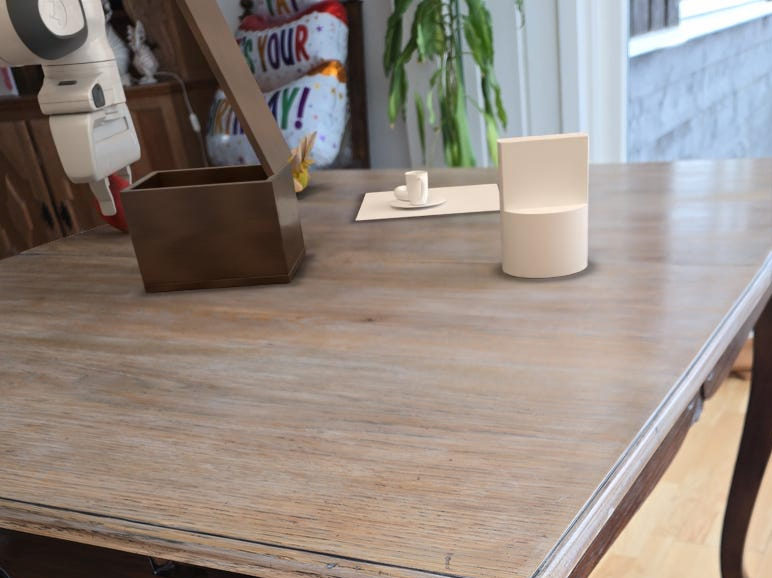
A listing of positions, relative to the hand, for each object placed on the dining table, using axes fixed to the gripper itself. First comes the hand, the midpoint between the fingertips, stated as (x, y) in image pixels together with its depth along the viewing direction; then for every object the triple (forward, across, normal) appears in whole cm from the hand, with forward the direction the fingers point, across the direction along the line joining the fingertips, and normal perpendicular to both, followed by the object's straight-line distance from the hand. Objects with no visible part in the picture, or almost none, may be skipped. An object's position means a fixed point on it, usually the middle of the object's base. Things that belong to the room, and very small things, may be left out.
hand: (119, 209), depth 121 cm
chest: (+3, +27, +20) cm, 34 cm away
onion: (+3, 0, 0) cm, 3 cm away
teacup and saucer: (+3, -7, +42) cm, 43 cm away
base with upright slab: (+3, +34, +55) cm, 65 cm away
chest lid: (-15, +27, +25) cm, 39 cm away
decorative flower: (+3, -22, +19) cm, 29 cm away
